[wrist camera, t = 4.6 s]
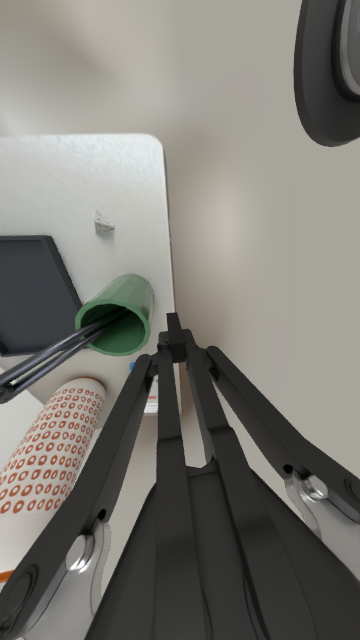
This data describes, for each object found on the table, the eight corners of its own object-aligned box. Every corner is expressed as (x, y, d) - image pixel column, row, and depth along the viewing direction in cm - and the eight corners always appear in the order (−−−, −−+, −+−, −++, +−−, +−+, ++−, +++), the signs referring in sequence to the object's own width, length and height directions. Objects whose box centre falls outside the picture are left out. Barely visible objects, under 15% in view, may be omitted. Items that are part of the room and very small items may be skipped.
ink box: (130, 372, 41) (120, 414, 31) (131, 361, 38) (122, 403, 28) (157, 374, 43) (156, 413, 33) (160, 363, 41) (160, 403, 31)
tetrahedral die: (113, 238, 24) (115, 239, 21) (95, 233, 22) (95, 234, 20) (113, 215, 22) (115, 214, 20) (94, 208, 21) (93, 206, 18)
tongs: (93, 292, 26) (-40, 395, 9) (149, 290, 28) (132, 374, 10) (97, 302, 27) (-13, 411, 10) (150, 300, 29) (137, 391, 11)
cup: (114, 268, 25) (73, 289, 13) (157, 281, 28) (156, 310, 16) (109, 307, 29) (75, 351, 17) (148, 316, 32) (142, 359, 20)
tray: (-97, 237, 19) (-121, 237, 18) (51, 236, 22) (42, 235, 20) (10, 351, 31) (1, 357, 29) (98, 342, 33) (95, 347, 32)
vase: (87, 365, 37) (-47, 594, 13) (118, 387, 44) (69, 564, 20) (51, 383, 38) (-132, 618, 14) (86, 402, 45) (3, 582, 21)
